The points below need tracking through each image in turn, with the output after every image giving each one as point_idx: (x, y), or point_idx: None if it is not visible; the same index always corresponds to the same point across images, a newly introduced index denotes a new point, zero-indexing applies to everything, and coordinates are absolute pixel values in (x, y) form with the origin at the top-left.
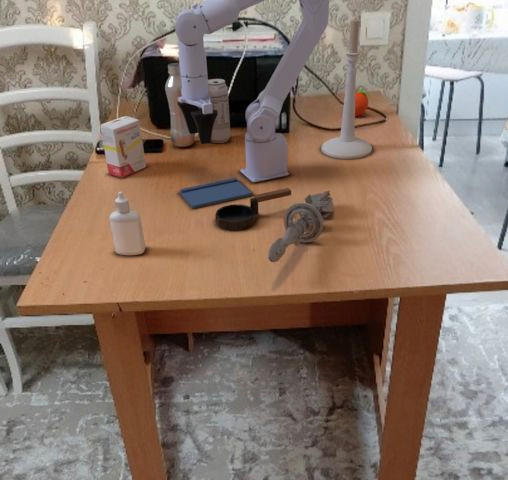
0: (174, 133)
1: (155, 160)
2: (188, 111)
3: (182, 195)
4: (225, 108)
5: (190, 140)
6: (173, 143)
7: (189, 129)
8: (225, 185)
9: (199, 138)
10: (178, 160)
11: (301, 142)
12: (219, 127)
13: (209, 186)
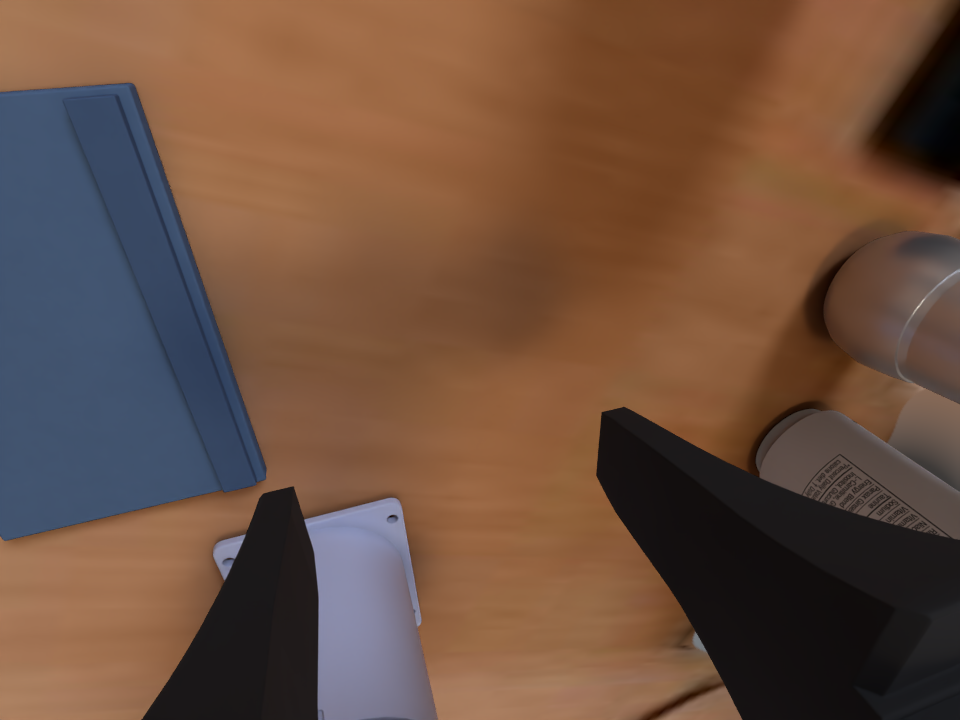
0: (935, 268)
1: (801, 68)
2: (763, 594)
3: (37, 90)
4: None
5: (838, 332)
6: (889, 236)
7: (624, 436)
8: (168, 420)
9: (277, 522)
10: (710, 216)
11: (582, 680)
12: (815, 495)
13: (156, 328)
